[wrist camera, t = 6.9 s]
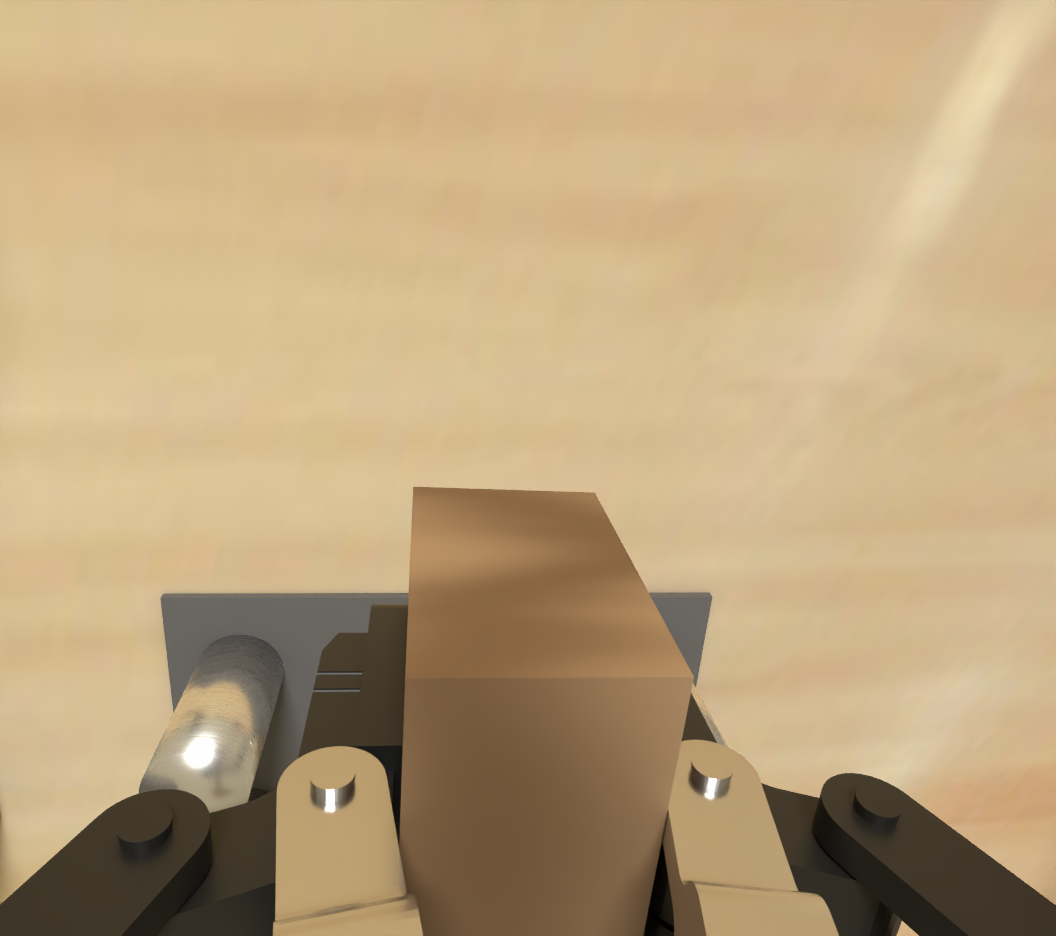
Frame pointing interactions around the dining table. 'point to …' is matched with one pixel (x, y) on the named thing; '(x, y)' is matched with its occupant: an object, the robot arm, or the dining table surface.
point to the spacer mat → (308, 629)
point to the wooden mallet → (533, 718)
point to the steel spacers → (233, 724)
